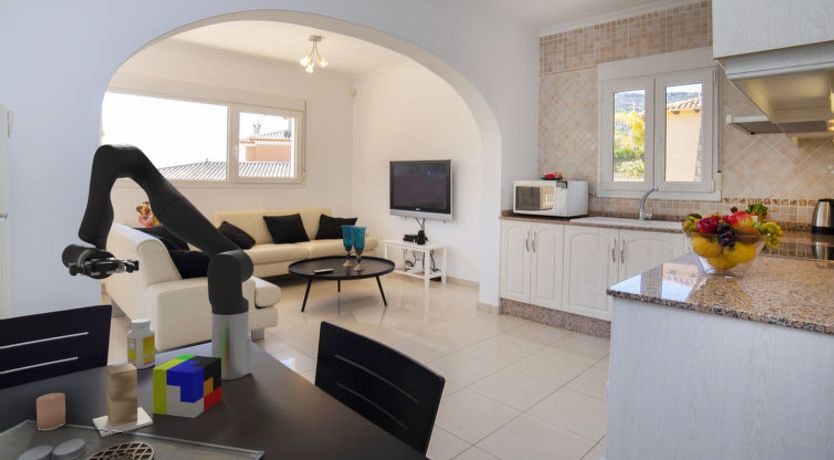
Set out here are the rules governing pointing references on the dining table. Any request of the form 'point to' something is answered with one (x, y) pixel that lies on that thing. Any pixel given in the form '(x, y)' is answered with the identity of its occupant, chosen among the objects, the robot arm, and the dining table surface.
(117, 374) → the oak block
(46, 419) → the peach short upright block
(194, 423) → the dining table surface
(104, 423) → the coaster
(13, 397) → the dining table surface
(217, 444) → the dining table surface
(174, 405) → the puzzle toy
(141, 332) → the supplement bottle
